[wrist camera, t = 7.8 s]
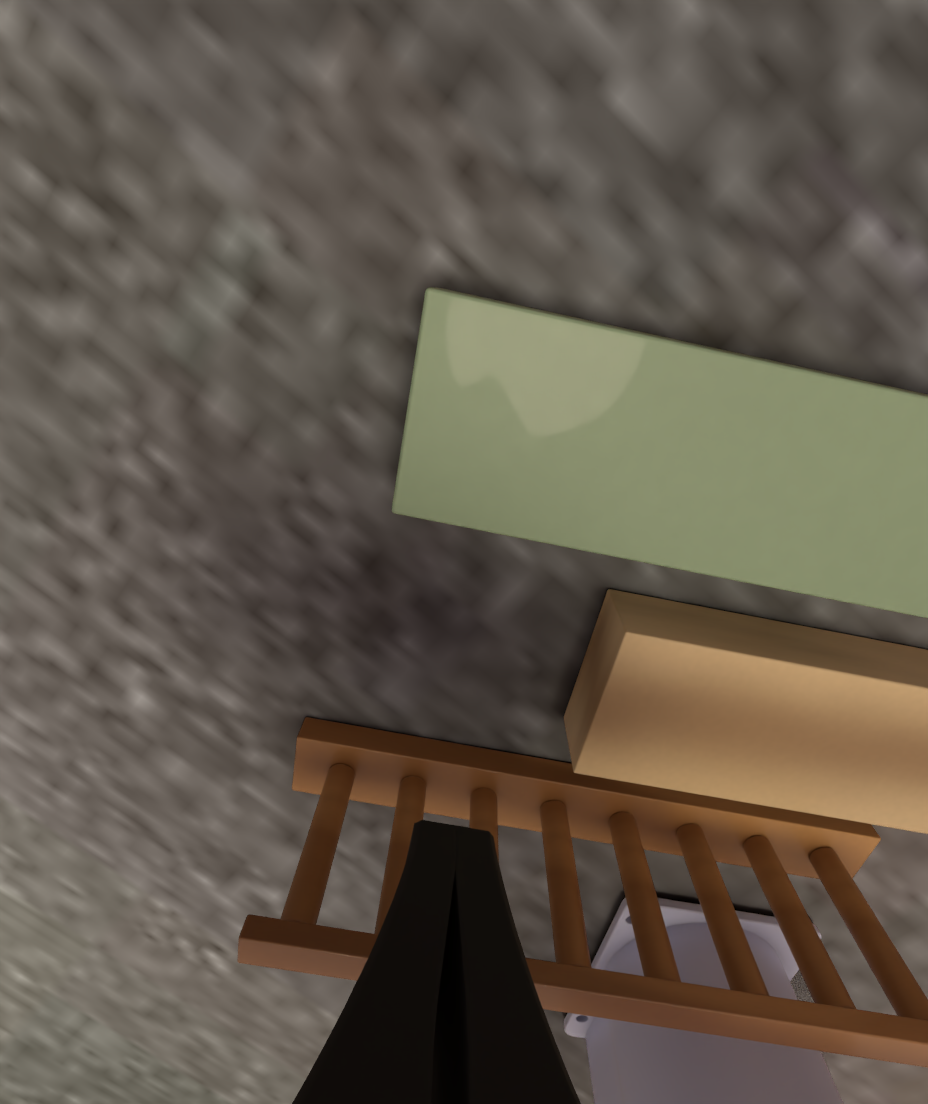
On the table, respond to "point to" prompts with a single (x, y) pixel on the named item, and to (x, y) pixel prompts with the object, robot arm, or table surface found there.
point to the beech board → (753, 712)
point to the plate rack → (631, 826)
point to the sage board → (666, 453)
